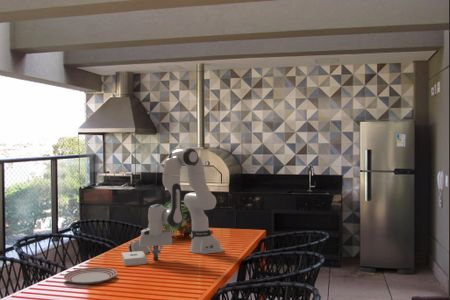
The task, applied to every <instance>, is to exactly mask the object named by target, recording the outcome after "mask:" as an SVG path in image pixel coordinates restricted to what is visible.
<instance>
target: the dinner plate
mask: <svg viewBox="0 0 450 300" xmlns="http://www.w3.org/2000/svg"><path fill="white" fill-rule="evenodd" d="M117 274H118V271H117V270H116V269H114V268H111V267H102V266H95V267H84V268H78V269H74V270H71V271H68V272H67V273H65V274H64V275H63V279H64V280H65V281H67V282H70V283H73V284H77V285H94V284H99V283H104V282H106V281H108V280H111V279H112V278H114V277H115V276H117Z"/></svg>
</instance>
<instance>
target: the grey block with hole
mask: <svg viewBox="0 0 450 300" xmlns="http://www.w3.org/2000/svg"><path fill="white" fill-rule="evenodd" d="M147 257H148V256H146V254H144V253H143V251H137V252H129V251H125V252H121V260H122V263H123V266H125V267H126V266H136V265H137V266H138V265H147V261H148V260H147Z"/></svg>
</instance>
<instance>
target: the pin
mask: <svg viewBox="0 0 450 300" xmlns="http://www.w3.org/2000/svg"><path fill="white" fill-rule="evenodd" d="M152 250H154V253H152V254H153V259H152V260H153V261H159V253H158V250H159V246H152Z"/></svg>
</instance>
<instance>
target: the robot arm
mask: <svg viewBox="0 0 450 300" xmlns="http://www.w3.org/2000/svg"><path fill="white" fill-rule="evenodd" d="M163 165H164V166H163V170H162V178H161V179H162V185H163V186H164V188H165V189H166V190H167V191H168V192H169V193H170V196H171V197H170V203H171V204H170V205H171V209H168V208H169V207H168V208H166V206H164V205H163V204H160V203H155V204H152V205H150V206H149V208H148V214H147V219H148V225H147V226H148V227H146V228H144V229H142V230H140V233H141V234H140V235H139V239H138V240H139V246H140V247H148V249H150V253H151V254H153V253H154V250H153V246H158V247H159V248H158V254H160V253H162V249H163V246H171V245H172V244H173V240H172V239H173V238H172V237H173V234H172V232H173V230H172V231H171V232H170V230H171V229H170V230H164V228H163V224H164V223H165V224H168V225H171V226H173V227H177V226H179V225H180V224H181V223H182V221H183V219H184V217H183V216H184V215H183V214H184V212H183V213H182V211H183V209H182V208H183V207H182V208H181V206H182V205H181V204H182V186H181V169H182V167H183V166H186V171H187V178H188V184H189V187H190V188H191V189H193V192H188V193H186V194H185V195H184V198H183V201H184V202H183V205H186V206H187V208H186V209H188V210H189V211H188V212H189V215H190V219H191V225H192V230H191V235H190V238H191V243H190V248H189V252H190V253H192V254H193V253H194V254H201V255H207V254H214V253H221V252H225V250H224V248H223V247H221V244H220V241H219V240H218V239H217V238H216V237H214V236H213V234H214V231H213V230H210V229H209V217H208V216H207V214H205V211H208V210H213V209H214V208H216V205H217V198H216V196H215V195H214V194H213V193H212V191H211V190H210V188H209V187H208V184H207V181H206V174H205V168H204V164H203V161H202V157H200V156H199V154H198V152H197V150H195V149H194V148H188V147H180V148H174V149H172V150H171V151H170V152H169V155H168V157H167V158H166V160H165V162H164V164H163ZM163 206H164V207H163Z"/></svg>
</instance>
